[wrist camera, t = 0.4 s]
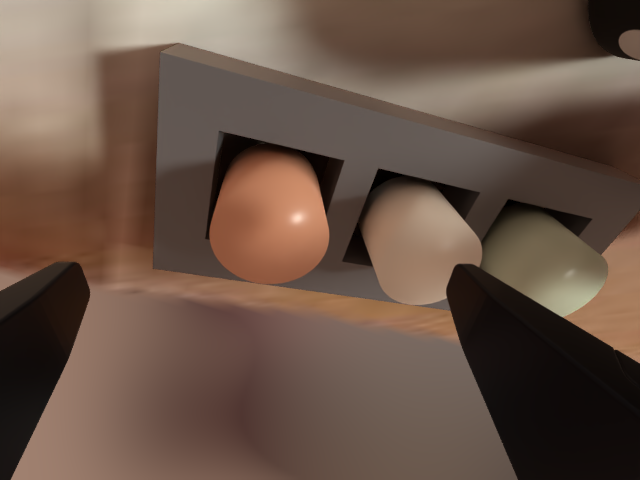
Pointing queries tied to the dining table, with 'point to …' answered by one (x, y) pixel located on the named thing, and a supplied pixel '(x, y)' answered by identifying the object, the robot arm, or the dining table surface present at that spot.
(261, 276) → the orange rounded dome
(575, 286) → the pale green egg
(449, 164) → the egg tray
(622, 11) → the beverage can
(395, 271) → the beige domed piece
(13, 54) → the dining table surface
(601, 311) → the dining table surface
